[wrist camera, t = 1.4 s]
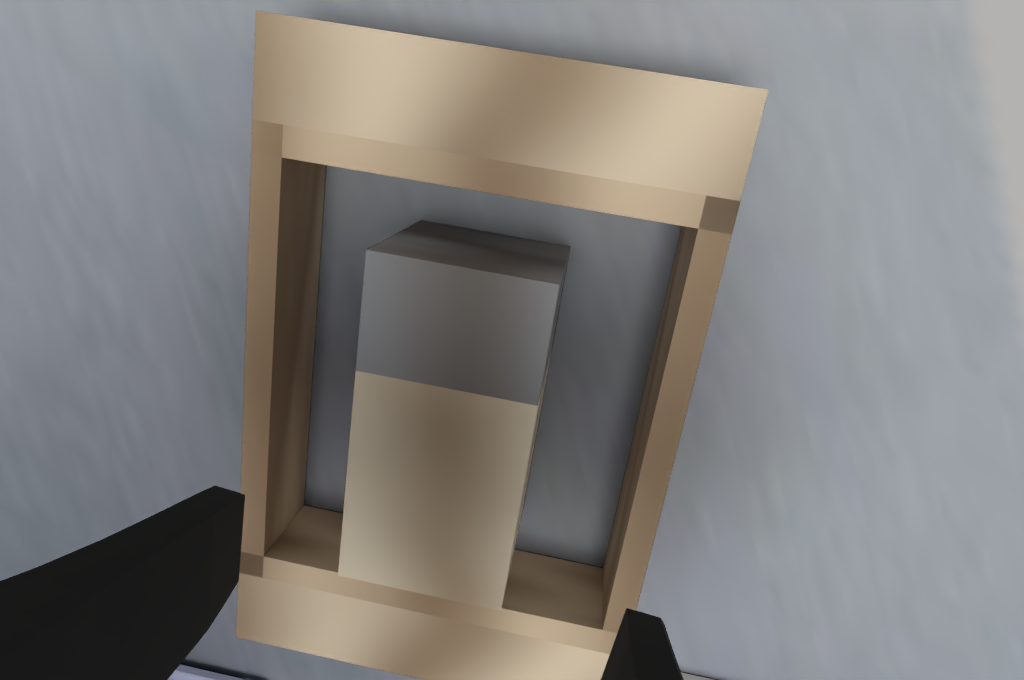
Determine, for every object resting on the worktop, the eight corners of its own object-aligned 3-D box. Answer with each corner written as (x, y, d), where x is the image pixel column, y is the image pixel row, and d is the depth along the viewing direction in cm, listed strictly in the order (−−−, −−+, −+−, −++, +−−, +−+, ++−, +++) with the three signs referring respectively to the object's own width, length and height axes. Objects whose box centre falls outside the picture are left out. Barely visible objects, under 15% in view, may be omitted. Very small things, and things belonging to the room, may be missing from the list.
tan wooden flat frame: (277, 579, 25) (236, 637, 22) (307, 26, 19) (255, 10, 17) (607, 651, 24) (607, 721, 21) (743, 94, 18) (768, 89, 16)
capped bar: (392, 483, 23) (337, 575, 19) (421, 220, 21) (365, 249, 16) (522, 510, 23) (501, 610, 18) (570, 246, 20) (559, 284, 16)
